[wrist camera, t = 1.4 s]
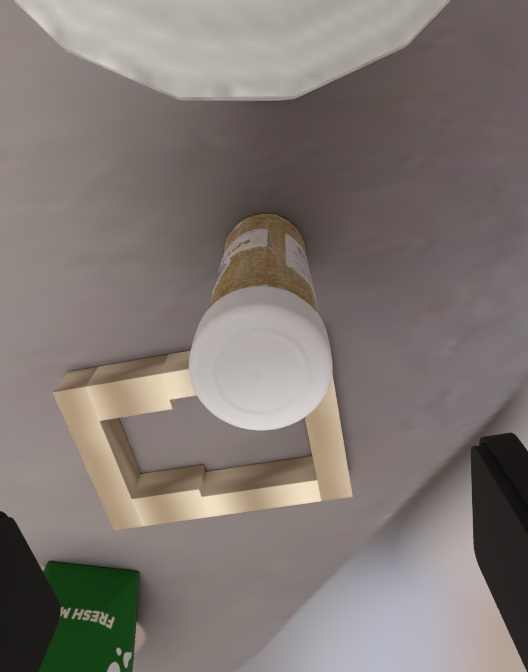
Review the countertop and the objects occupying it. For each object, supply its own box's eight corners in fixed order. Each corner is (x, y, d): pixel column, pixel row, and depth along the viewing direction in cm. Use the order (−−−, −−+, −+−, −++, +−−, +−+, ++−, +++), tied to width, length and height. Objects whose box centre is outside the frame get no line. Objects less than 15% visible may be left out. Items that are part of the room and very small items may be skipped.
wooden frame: (323, 327, 29) (327, 345, 27) (347, 471, 34) (352, 496, 32) (68, 371, 31) (52, 392, 29) (123, 504, 35) (114, 530, 33)
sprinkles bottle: (225, 208, 26) (186, 301, 14) (311, 215, 26) (344, 312, 14) (222, 290, 28) (185, 431, 16) (302, 295, 28) (324, 441, 16)
